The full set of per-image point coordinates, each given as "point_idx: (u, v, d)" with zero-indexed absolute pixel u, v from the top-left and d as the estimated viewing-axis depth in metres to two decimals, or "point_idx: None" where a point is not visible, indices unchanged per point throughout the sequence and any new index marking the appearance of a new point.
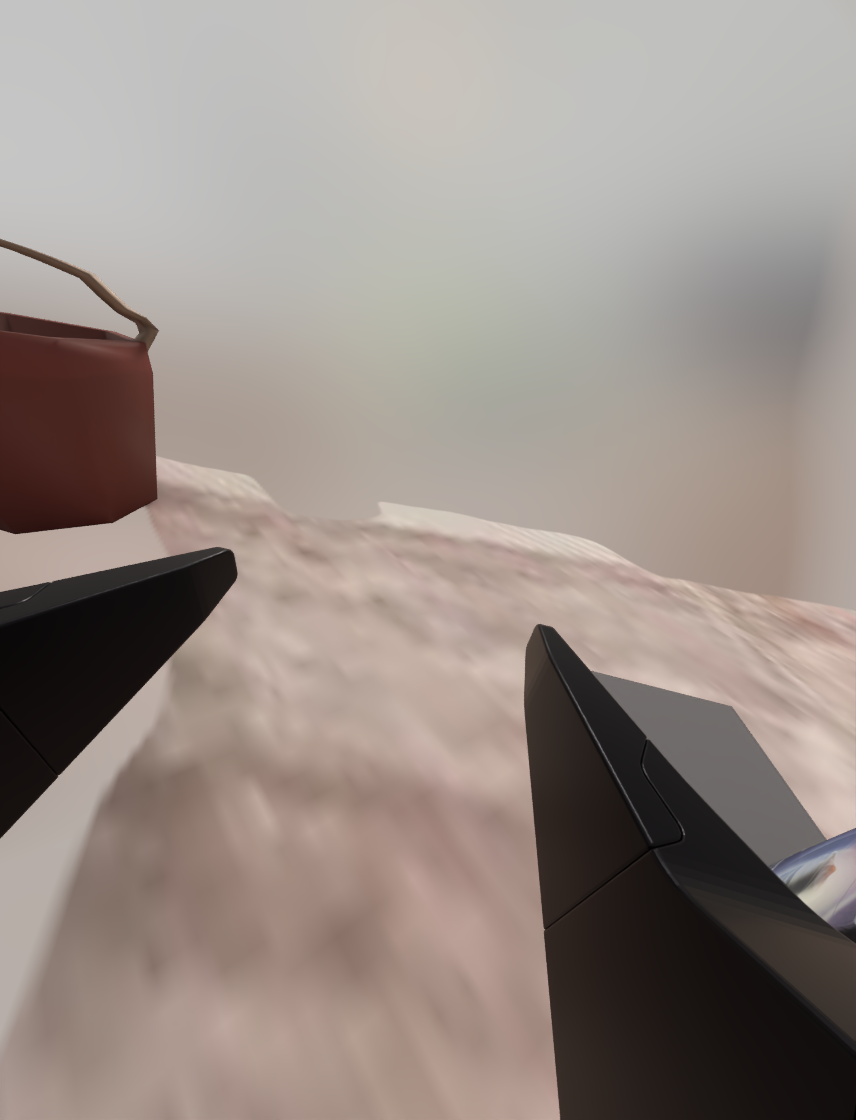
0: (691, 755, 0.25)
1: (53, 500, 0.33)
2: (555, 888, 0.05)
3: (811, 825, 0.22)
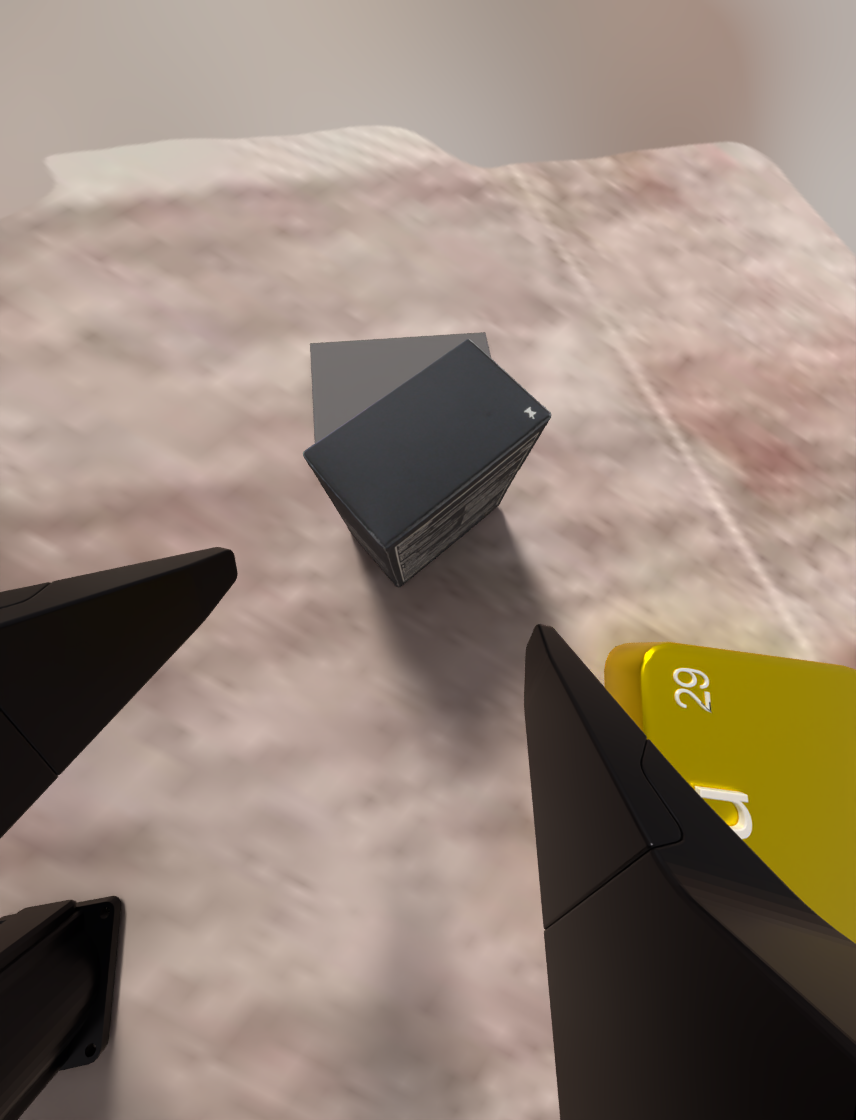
0: None
1: None
2: (555, 888, 0.05)
3: None
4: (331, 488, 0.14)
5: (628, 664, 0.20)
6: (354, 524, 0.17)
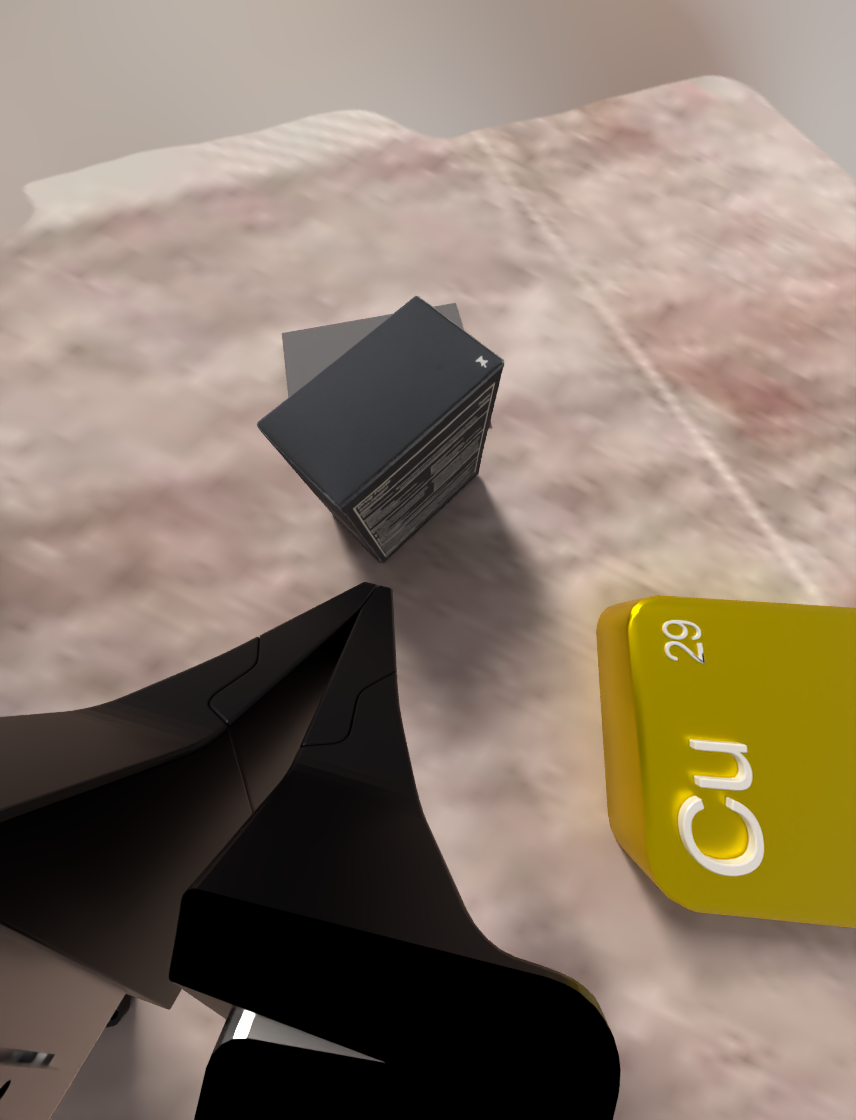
0: None
1: None
2: None
3: None
4: (285, 455, 0.14)
5: (617, 621, 0.20)
6: (319, 494, 0.17)
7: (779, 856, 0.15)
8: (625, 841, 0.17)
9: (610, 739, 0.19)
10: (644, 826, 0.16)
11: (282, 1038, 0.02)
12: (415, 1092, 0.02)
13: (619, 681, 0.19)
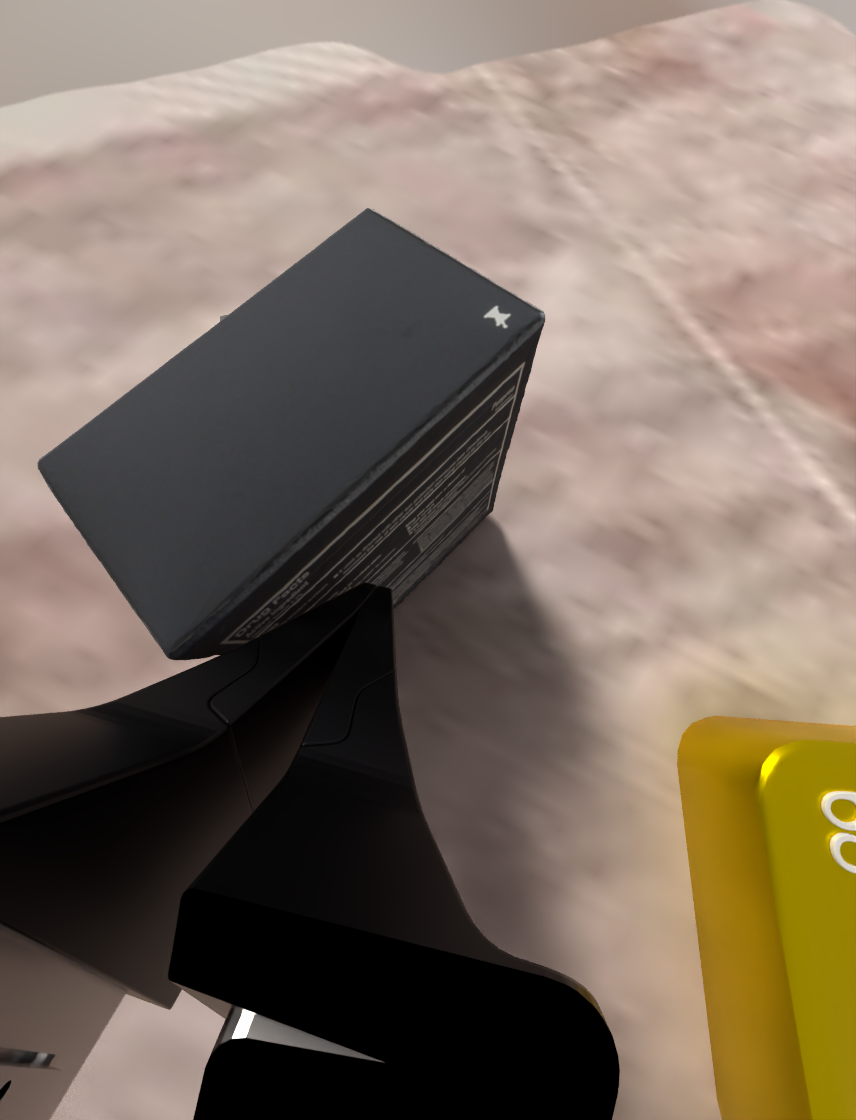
0: None
1: None
2: None
3: None
4: (80, 530, 0.07)
5: (727, 773, 0.12)
6: None
7: None
8: None
9: (718, 970, 0.12)
10: None
11: (281, 1038, 0.02)
12: (414, 1092, 0.02)
13: (737, 882, 0.11)
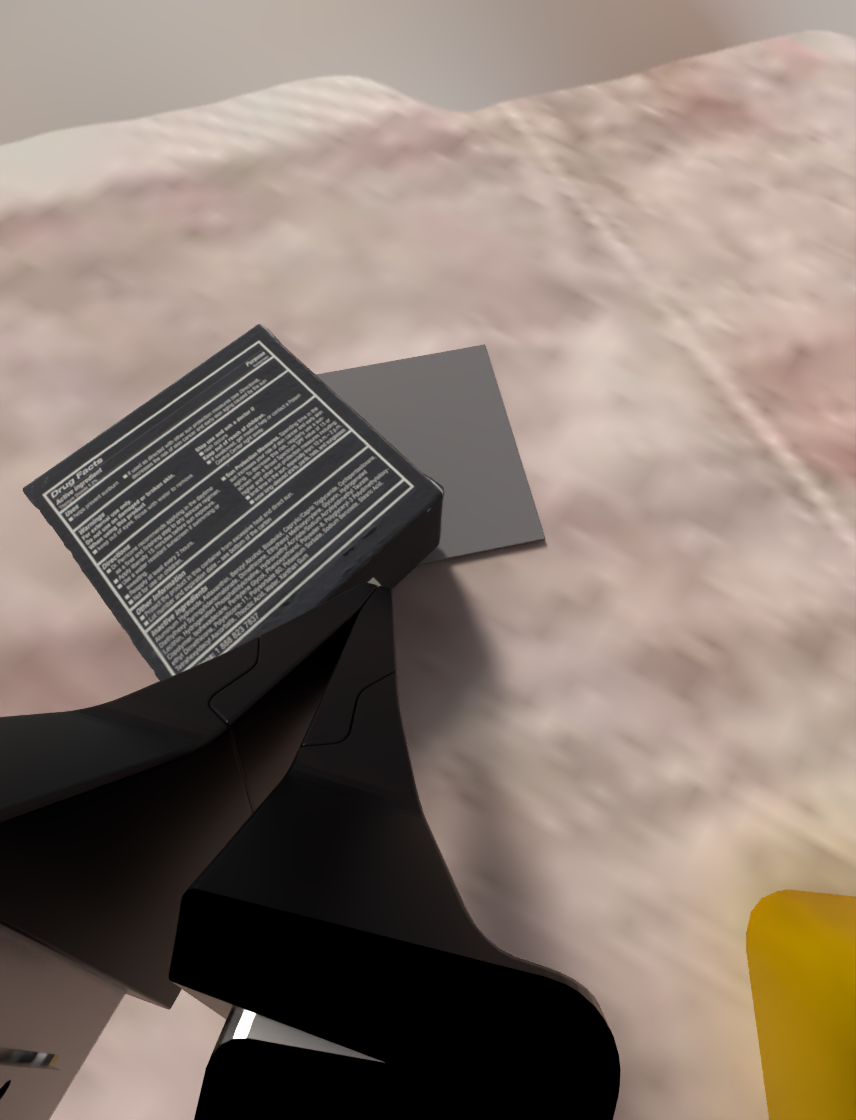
0: None
1: None
2: None
3: (518, 476, 0.18)
4: None
5: (821, 1003, 0.10)
6: None
7: None
8: None
9: None
10: None
11: (282, 1038, 0.02)
12: (415, 1092, 0.02)
13: None
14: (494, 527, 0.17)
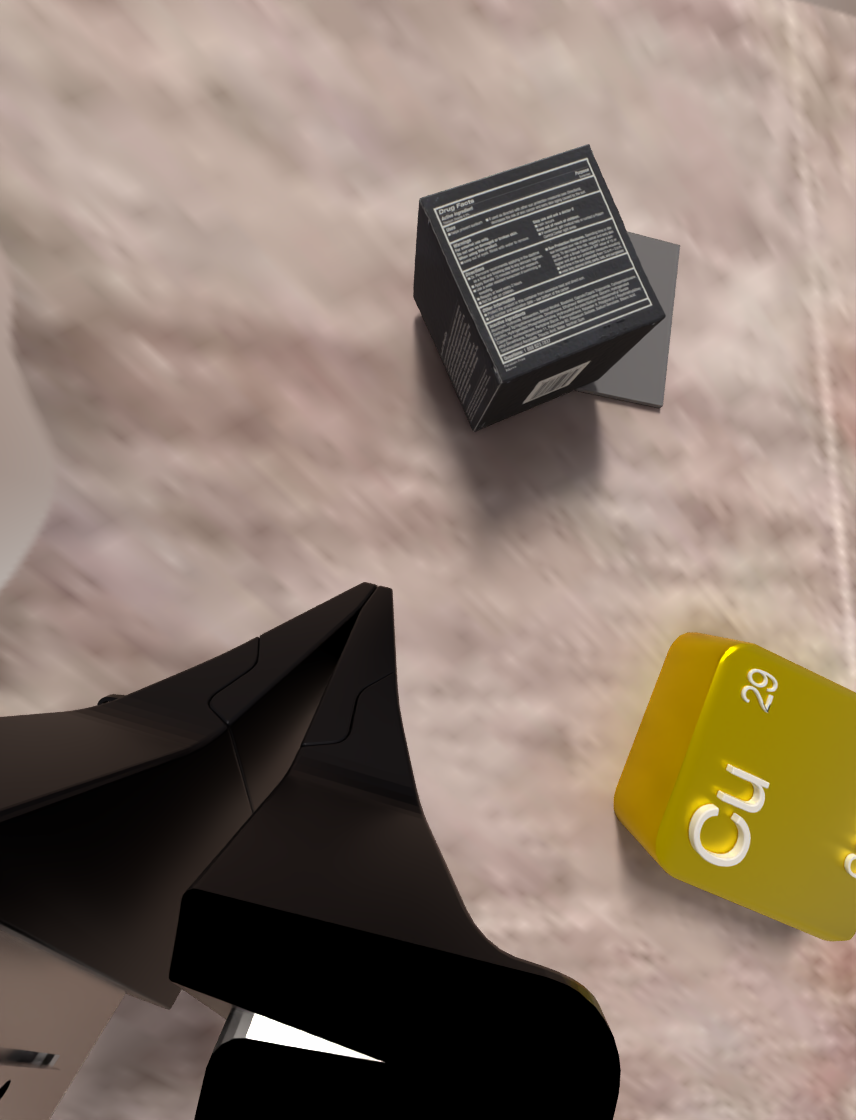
0: None
1: None
2: None
3: (662, 357, 0.24)
4: (415, 268, 0.20)
5: (705, 651, 0.21)
6: (434, 296, 0.19)
7: (750, 861, 0.19)
8: (630, 814, 0.21)
9: (647, 738, 0.22)
10: (663, 812, 0.19)
11: (282, 1038, 0.02)
12: (414, 1092, 0.02)
13: (683, 698, 0.21)
14: (634, 385, 0.24)
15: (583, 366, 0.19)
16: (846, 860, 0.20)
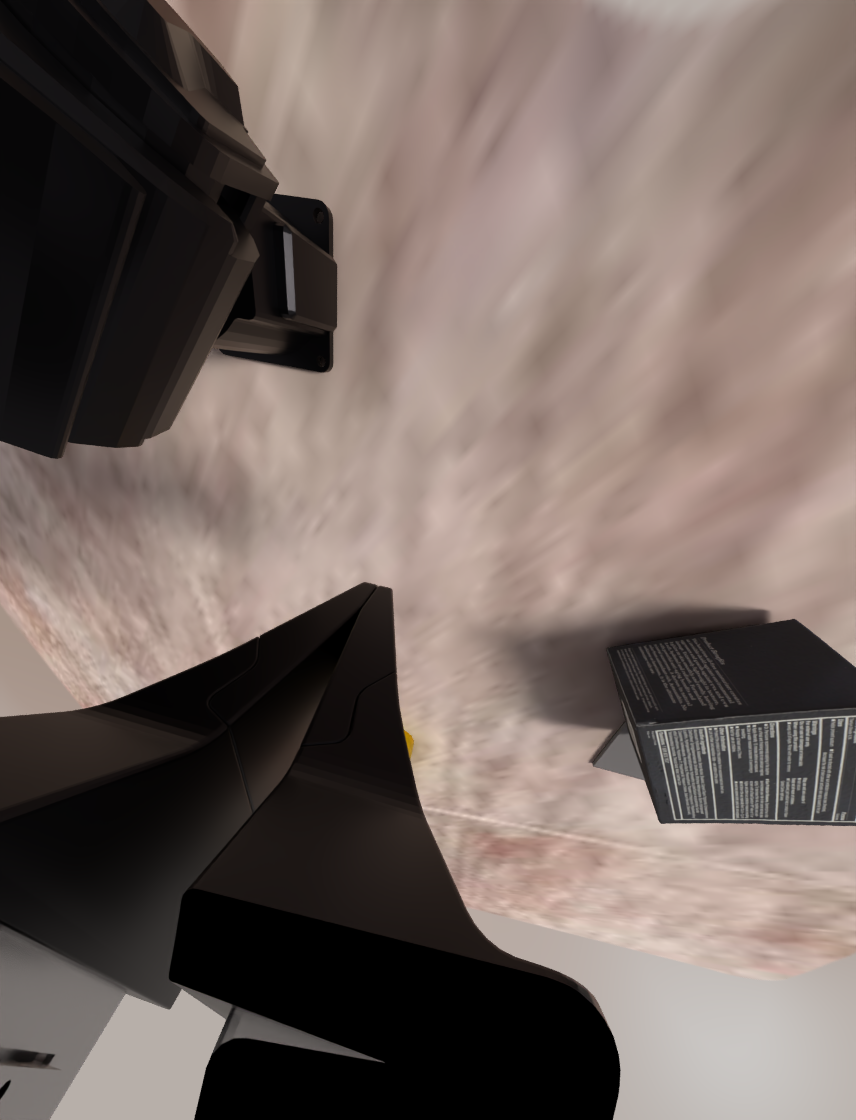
0: None
1: None
2: None
3: (637, 775, 0.29)
4: (826, 644, 0.17)
5: None
6: (773, 664, 0.17)
7: None
8: None
9: None
10: None
11: (282, 1039, 0.02)
12: (415, 1092, 0.02)
13: None
14: (617, 755, 0.28)
15: (639, 756, 0.22)
16: None
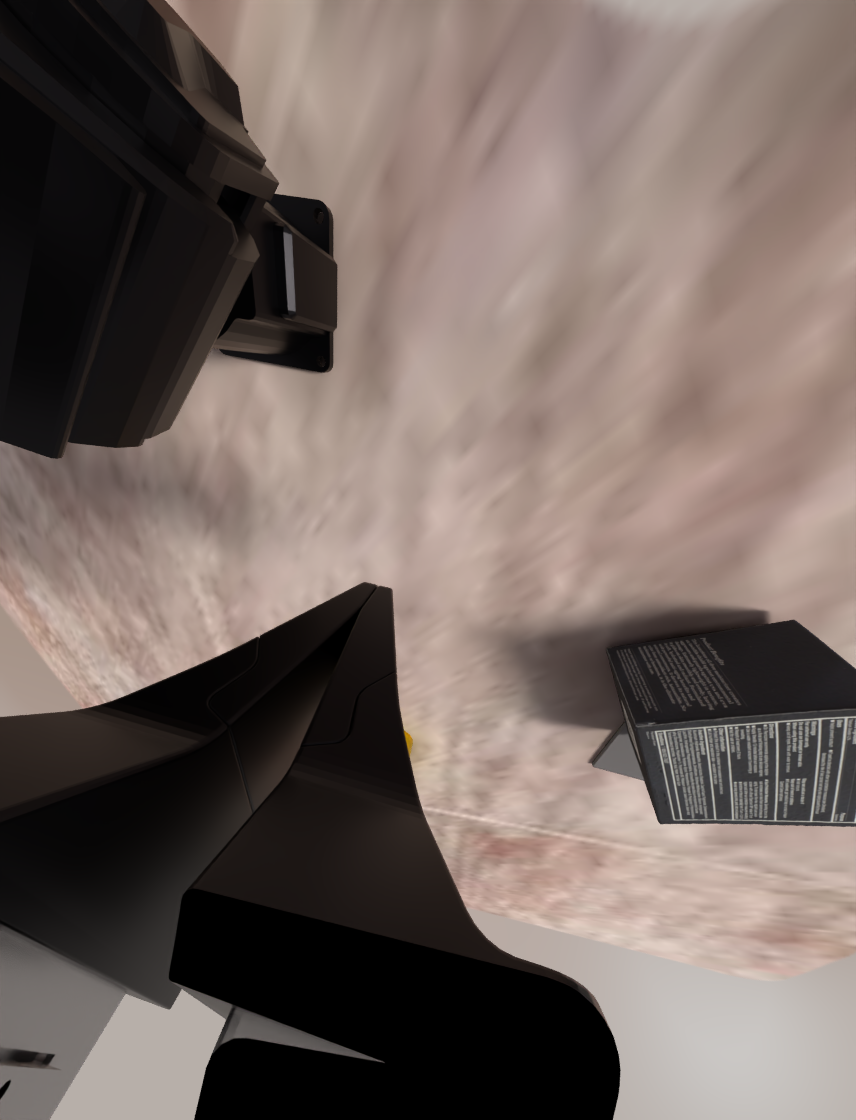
0: None
1: None
2: None
3: (636, 775, 0.29)
4: (826, 645, 0.17)
5: None
6: (772, 665, 0.17)
7: None
8: None
9: None
10: None
11: (282, 1039, 0.02)
12: (414, 1092, 0.02)
13: None
14: (616, 755, 0.28)
15: (638, 756, 0.22)
16: None
